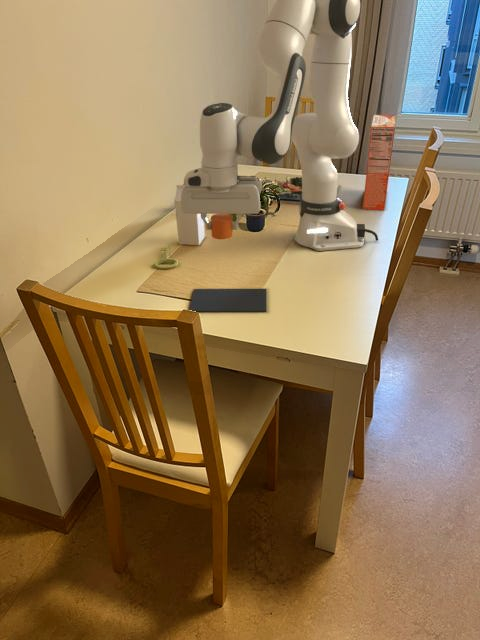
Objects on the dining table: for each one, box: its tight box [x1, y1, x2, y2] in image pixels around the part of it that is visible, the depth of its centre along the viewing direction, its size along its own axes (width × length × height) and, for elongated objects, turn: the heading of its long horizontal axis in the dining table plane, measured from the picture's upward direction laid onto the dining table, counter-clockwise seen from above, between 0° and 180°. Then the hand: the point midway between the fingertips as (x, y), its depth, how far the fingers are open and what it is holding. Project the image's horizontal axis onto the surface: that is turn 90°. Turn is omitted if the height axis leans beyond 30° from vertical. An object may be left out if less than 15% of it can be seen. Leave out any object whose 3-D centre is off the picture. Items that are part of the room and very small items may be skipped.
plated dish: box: [264, 175, 340, 205], centre depth 209 cm, size 35×28×7 cm
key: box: [153, 246, 179, 270], centre depth 155 cm, size 7×12×2 cm, turn 23°
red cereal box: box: [362, 114, 396, 211], centre depth 192 cm, size 23×8×30 cm, turn 165°
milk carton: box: [174, 184, 206, 246], centre depth 164 cm, size 7×7×19 cm
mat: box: [188, 288, 267, 313], centre depth 134 cm, size 20×12×1 cm, turn 88°
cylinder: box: [210, 214, 234, 240], centre depth 130 cm, size 6×6×5 cm
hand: (221, 229), depth 130 cm, fingers closed on cylinder, 5 cm apart
